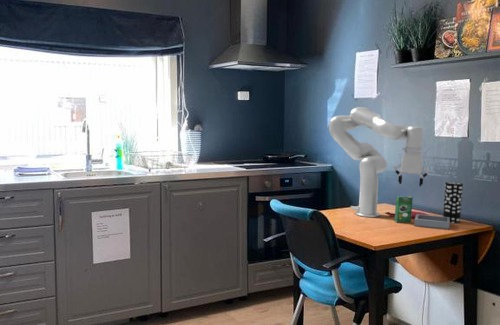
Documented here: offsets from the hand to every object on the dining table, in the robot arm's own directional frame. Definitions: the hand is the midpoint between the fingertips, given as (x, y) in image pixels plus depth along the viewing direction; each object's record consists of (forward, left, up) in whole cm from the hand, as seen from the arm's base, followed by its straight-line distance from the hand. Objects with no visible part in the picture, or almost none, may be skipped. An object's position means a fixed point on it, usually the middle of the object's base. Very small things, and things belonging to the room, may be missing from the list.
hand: (410, 184), depth 255 cm
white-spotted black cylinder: (+21, +14, -19) cm, 31 cm away
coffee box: (-2, -1, -19) cm, 20 cm away
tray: (+12, -1, -19) cm, 22 cm away
